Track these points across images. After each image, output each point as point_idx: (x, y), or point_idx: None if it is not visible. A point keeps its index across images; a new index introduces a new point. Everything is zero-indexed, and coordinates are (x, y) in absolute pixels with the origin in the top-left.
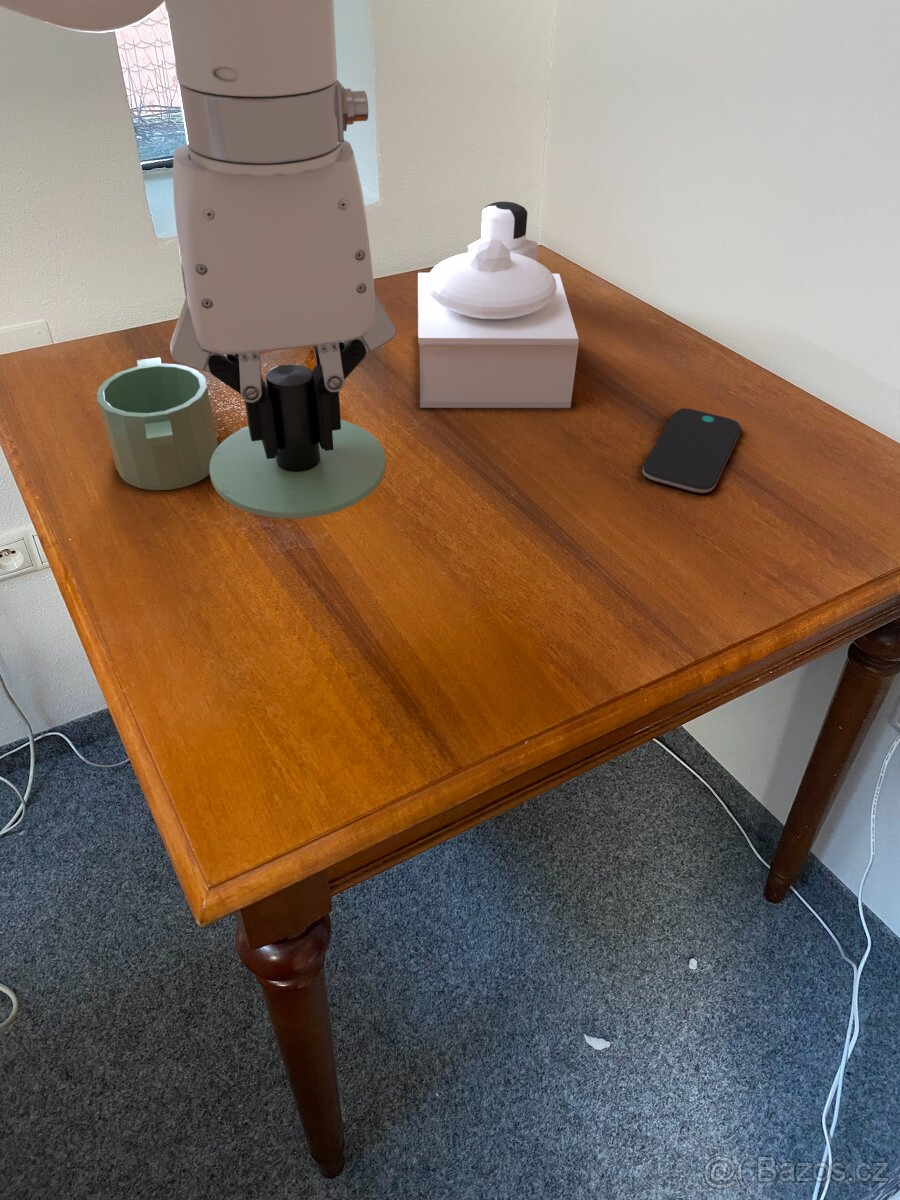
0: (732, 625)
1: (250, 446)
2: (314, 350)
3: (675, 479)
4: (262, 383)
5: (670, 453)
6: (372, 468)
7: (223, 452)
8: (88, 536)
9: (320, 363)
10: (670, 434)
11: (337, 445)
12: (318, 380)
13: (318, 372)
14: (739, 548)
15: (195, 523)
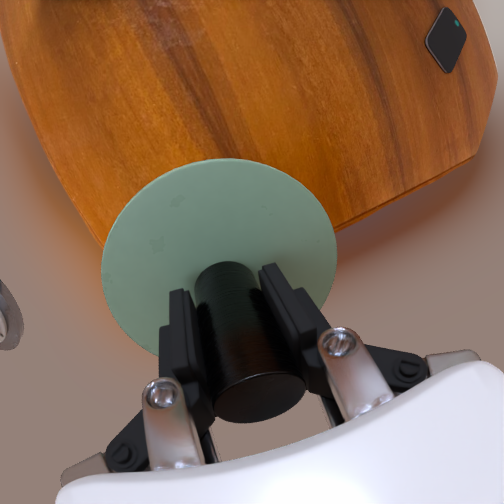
0: (425, 171)
1: (149, 259)
2: (331, 387)
3: (439, 58)
4: (209, 419)
5: (440, 37)
6: (316, 297)
7: (114, 275)
8: (26, 56)
9: (329, 421)
10: (442, 23)
11: (281, 251)
12: (310, 392)
13: (316, 381)
14: (445, 118)
15: (95, 25)
